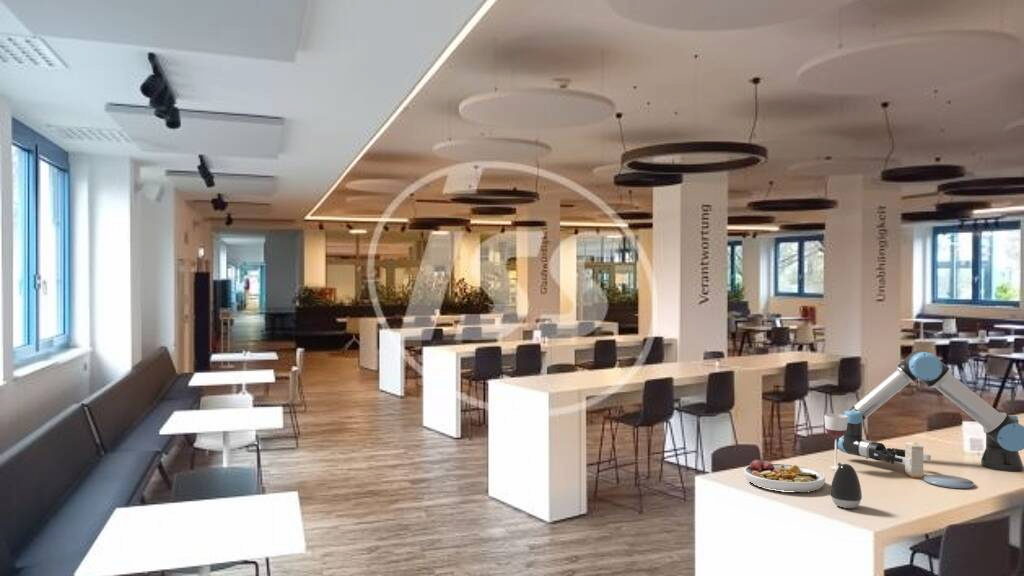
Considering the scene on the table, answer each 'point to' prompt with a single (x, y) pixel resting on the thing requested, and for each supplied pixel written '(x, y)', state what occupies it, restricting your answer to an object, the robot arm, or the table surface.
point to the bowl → (784, 476)
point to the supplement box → (914, 460)
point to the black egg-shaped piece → (846, 487)
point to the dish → (948, 481)
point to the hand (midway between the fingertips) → (920, 460)
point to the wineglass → (836, 428)
